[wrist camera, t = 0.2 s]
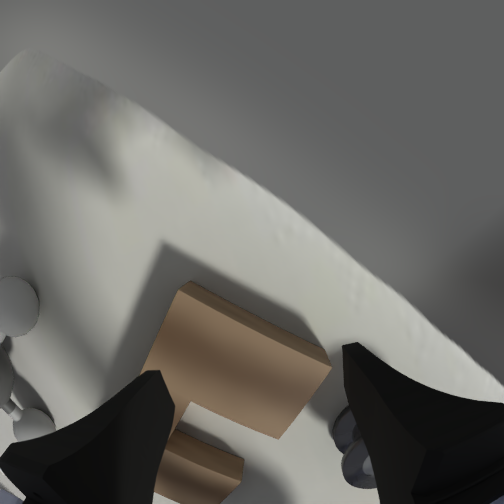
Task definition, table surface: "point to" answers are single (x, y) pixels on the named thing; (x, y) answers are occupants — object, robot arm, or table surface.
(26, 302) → the molecule model
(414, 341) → the table surface
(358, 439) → the bobbin
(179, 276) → the table surface
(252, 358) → the notched board
